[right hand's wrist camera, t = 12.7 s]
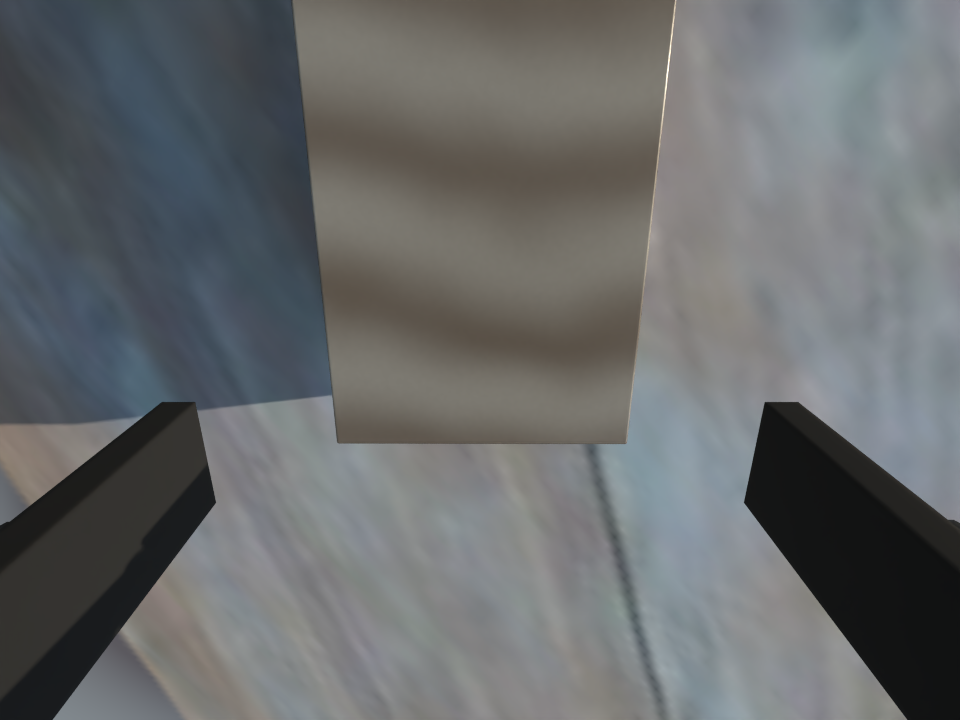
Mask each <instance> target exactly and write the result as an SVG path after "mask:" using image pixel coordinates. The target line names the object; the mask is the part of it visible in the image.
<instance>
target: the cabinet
mask: <svg viewBox="0 0 960 720" xmlns="http://www.w3.org/2000/svg"><path fill="white" fill-rule="evenodd" d="M291 3H292V12H293V22H294V31H295V41H296V51H297V60H298V70H299V80H300V89H301V99H302V108H303V118H304V128H305V137H306V147H307V157H308V166H309V176H310V185H311V195H312V205H313V214H314V224H315V234H316V243H317V253H318V262H319V272H320V282H321V291H322V301H323V311H324V320H325V330H326V339H327V349H328V359H329V368H330V378H331V388H332V397H333V407H334V416H335V426H336V436H337V442H338V443H408V444H626V443H627V437H628V428H629V419H630V410H631V401H632V392H633V383H634V374H635V365H636V356H637V348H638V339H639V330H640V321H641V312H642V303H643V294H644V285H645V276H646V267H647V259H648V250H649V241H650V232H651V223H652V214H653V205H654V196H655V187H656V178H657V169H658V161H659V152H660V143H661V134H662V125H663V116H664V107H665V98H666V89H667V80H668V72H669V63H670V54H671V45H672V36H673V27H674V18H675V9H676V0H291Z"/></svg>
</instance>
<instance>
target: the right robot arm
mask: <svg viewBox="0 0 960 720" xmlns="http://www.w3.org/2000/svg"><path fill="white" fill-rule="evenodd" d="M215 503H216V500H215V496H214V491H213V486H212V481H211V476H210V471H209V467H208V462H207V457H206V452H205V447H204V442H203V438H202V433H201V428H200V423H199V418H198V414H197V409H196V404H195V402H161V403H160V404H159V405H158V406H156V407H155V408H154V409H153V410H151V411H150V412H149V413H148V414H146V415H145V416H144V417H142V418H141V419H140V420H139V421H137V422H136V423H135V424H134V425H132V426H131V427H130V428H128V429H127V430H126V431H125V432H123V433H122V434H121V435H120V436H118V437H117V438H116V439H114V440H113V441H112V442H111V443H109V444H108V445H107V446H106V447H104V448H103V449H102V450H100V451H99V452H98V453H97V454H95V455H94V456H93V457H92V458H90V459H89V460H88V461H86V462H85V463H84V464H83V465H81V466H80V467H79V468H78V469H76V470H75V471H74V472H72V473H71V474H70V475H69V476H67V477H66V478H65V479H64V480H62V481H61V482H60V483H58V484H57V485H56V486H55V487H53V488H52V489H51V490H50V491H48V492H47V493H46V494H45V495H43V496H42V497H41V498H39V499H38V500H37V501H36V502H34V503H33V504H32V505H31V506H29V507H28V508H27V509H25V510H24V511H23V512H22V513H20V514H19V515H18V516H17V517H15V518H14V519H13V520H11V521H10V522H6V523H4V524H2V525H0V720H53V718H54V717H55V716H56V714H57V713H58V712H59V710H60V709H61V708H62V706H63V705H64V704H65V702H66V701H67V700H68V699H69V697H70V696H71V695H72V693H73V692H74V691H75V689H76V688H77V687H78V685H79V684H80V682H81V681H82V680H83V679H84V677H85V676H86V675H87V673H88V672H89V671H90V669H91V668H92V667H93V665H94V664H95V663H96V661H97V660H98V659H99V657H100V656H101V655H102V653H103V652H104V651H105V649H106V648H107V647H108V645H109V644H110V643H111V641H112V640H113V639H114V637H115V636H116V635H117V633H118V632H119V631H120V629H121V628H122V627H123V625H124V624H125V623H126V621H127V620H128V619H129V618H130V616H131V615H132V614H133V612H134V611H135V610H136V608H137V607H138V606H139V604H140V603H141V602H142V600H143V599H144V598H145V596H146V595H147V594H148V592H149V591H150V590H151V588H152V587H153V586H154V584H155V583H156V582H157V580H158V579H159V578H160V576H161V575H162V574H163V572H164V571H165V570H166V568H167V567H168V566H169V564H170V563H171V562H172V560H173V559H174V558H175V556H176V555H177V554H178V552H179V551H180V550H181V548H182V547H183V546H184V544H185V543H186V542H187V540H188V539H189V538H190V537H191V535H192V534H193V533H194V531H195V530H196V529H197V527H198V526H199V525H200V523H201V522H202V521H203V519H204V518H205V517H206V515H207V514H208V513H209V511H210V510H211V509H212V507H213V506H214V505H215ZM744 503H745V505H746V506H747V507H748V509H749V510H750V511H751V513H752V514H753V515H754V517H755V518H756V519H757V521H758V522H759V523H760V525H761V526H762V527H763V529H764V530H765V531H766V533H767V534H768V535H769V537H770V538H771V539H772V540H773V542H774V543H775V544H776V546H777V547H778V548H779V550H780V551H781V552H782V554H783V555H784V556H785V558H786V559H787V560H788V562H789V563H790V564H791V566H792V567H793V568H794V570H795V571H796V572H797V574H798V575H799V576H800V578H801V579H802V580H803V582H804V583H805V584H806V586H807V587H808V588H809V590H810V591H811V592H812V594H813V595H814V596H815V598H816V599H817V600H818V602H819V603H820V604H821V606H822V607H823V608H824V610H825V611H826V612H827V614H828V615H829V616H830V618H831V619H832V620H833V621H834V623H835V624H836V625H837V627H838V628H839V629H840V631H841V632H842V633H843V635H844V636H845V637H846V639H847V640H848V641H849V643H850V644H851V645H852V647H853V648H854V649H855V651H856V652H857V653H858V655H859V656H860V657H861V659H862V660H863V661H864V663H865V664H866V665H867V667H868V668H869V669H870V671H871V672H872V673H873V675H874V676H875V677H876V679H877V680H878V681H879V683H880V684H881V685H882V687H883V688H884V689H885V691H886V692H887V693H888V695H889V696H890V697H891V699H892V700H893V701H894V703H895V704H896V705H897V706H898V708H899V709H900V710H901V712H902V713H903V714H904V716H905V717H906V718H907V720H960V523H959V522H957V521H955V520H947V519H946V518H945V517H943V516H942V515H941V514H940V513H938V512H937V511H936V510H935V509H933V508H932V507H931V506H929V505H928V504H927V503H926V502H924V501H923V500H922V499H921V498H919V497H918V496H917V495H915V494H914V493H913V492H912V491H910V490H909V489H908V488H907V487H905V486H904V485H903V484H902V483H900V482H899V481H898V480H896V479H895V478H894V477H893V476H891V475H890V474H889V473H888V472H886V471H885V470H884V469H882V468H881V467H880V466H879V465H877V464H876V463H875V462H874V461H872V460H871V459H870V458H868V457H867V456H866V455H865V454H863V453H862V452H861V451H860V450H858V449H857V448H856V447H854V446H853V445H852V444H851V443H849V442H848V441H847V440H846V439H844V438H843V437H842V436H840V435H839V434H838V433H837V432H835V431H834V430H833V429H832V428H830V427H829V426H828V425H826V424H825V423H824V422H823V421H821V420H820V419H819V418H818V417H816V416H815V415H814V414H812V413H811V412H810V411H809V410H807V409H806V408H805V407H804V406H802V405H801V404H800V403H799V402H765V404H764V409H763V414H762V418H761V423H760V428H759V433H758V438H757V442H756V447H755V452H754V457H753V462H752V467H751V471H750V476H749V481H748V486H747V491H746V496H745V500H744Z"/></svg>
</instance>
